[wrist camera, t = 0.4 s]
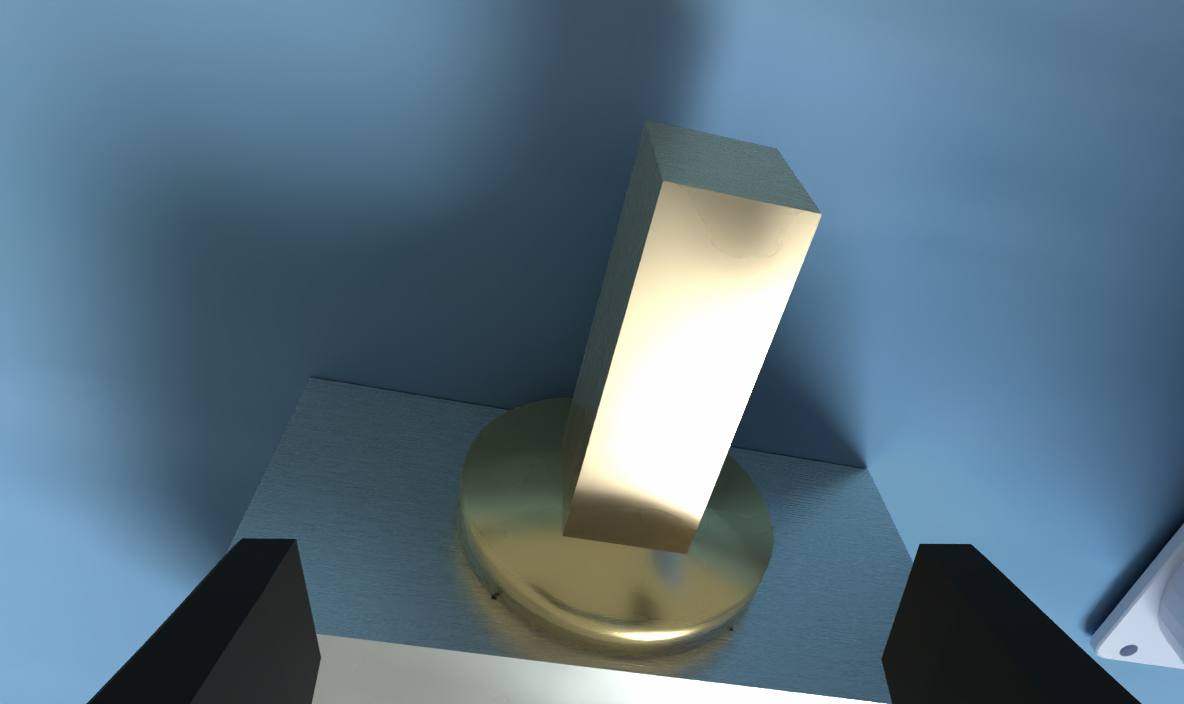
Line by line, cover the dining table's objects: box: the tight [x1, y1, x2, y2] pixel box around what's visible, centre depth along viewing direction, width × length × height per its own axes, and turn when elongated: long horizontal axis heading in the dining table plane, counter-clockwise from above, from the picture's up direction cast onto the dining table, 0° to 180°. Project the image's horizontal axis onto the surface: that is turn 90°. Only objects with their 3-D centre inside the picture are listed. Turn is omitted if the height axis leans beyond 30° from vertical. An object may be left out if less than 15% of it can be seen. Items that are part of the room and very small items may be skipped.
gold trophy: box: [455, 120, 822, 658], centre depth 17 cm, size 6×14×6 cm, turn 167°
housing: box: [225, 377, 913, 704], centre depth 20 cm, size 14×10×7 cm
